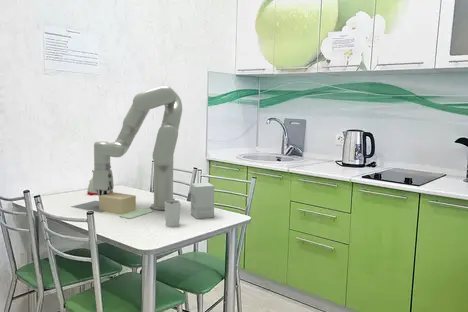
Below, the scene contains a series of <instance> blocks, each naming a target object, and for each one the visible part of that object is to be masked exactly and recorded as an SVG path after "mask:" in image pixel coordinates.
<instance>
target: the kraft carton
mask: <svg viewBox="0 0 468 312" xmlns="http://www.w3.org/2000/svg"><path fill="white" fill-rule="evenodd" d="M98 201H99V210H100V211H106V212H111V213H117V214H124V213H127V212H130V211H134V210H136V208H137V196H136V195H134V194H127V193H121V192H114V191H113V193H109V194H105V195H101V196H98Z"/></svg>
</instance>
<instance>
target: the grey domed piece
mask: <svg viewBox="0 0 468 312" xmlns="http://www.w3.org/2000/svg"><path fill="white" fill-rule="evenodd" d="M93 171H94V169H92V172H91V173H93ZM88 182H89V184H88V187H87V192H86V193H87V195H88V196H98V193H97V192H96V191H94V188H93V177H92V178H91V179H90V180H89V181H88ZM111 191H112V192H111V193H113V192H114V188H113V189H111ZM104 192H105V191H104ZM108 194H109V193H108Z"/></svg>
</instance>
